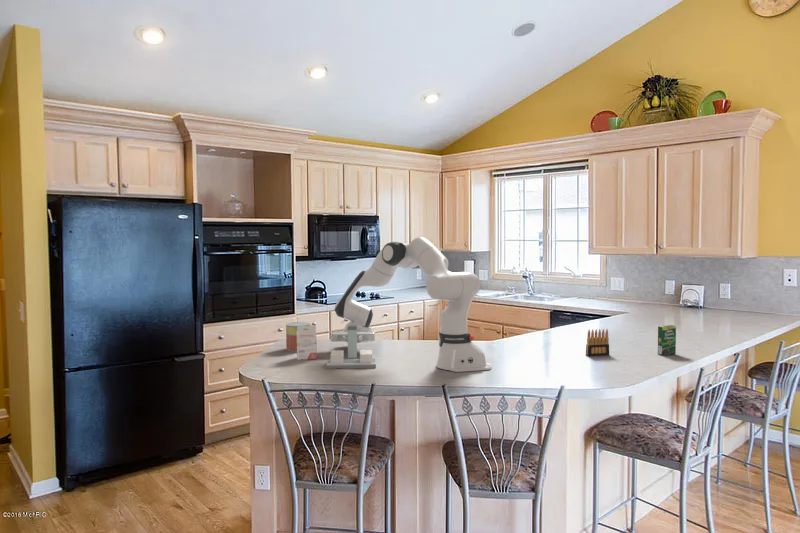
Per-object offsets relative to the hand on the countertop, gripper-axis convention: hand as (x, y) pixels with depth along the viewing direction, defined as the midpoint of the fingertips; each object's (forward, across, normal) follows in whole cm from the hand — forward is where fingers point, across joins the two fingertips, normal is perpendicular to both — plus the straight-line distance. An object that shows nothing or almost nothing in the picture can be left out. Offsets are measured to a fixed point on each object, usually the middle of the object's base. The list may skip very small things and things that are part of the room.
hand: (352, 339), depth 252 cm
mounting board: (+14, 0, +8) cm, 16 cm away
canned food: (-20, -26, +8) cm, 34 cm away
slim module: (-1, 0, +8) cm, 8 cm away
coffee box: (+3, +142, +8) cm, 142 cm away
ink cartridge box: (0, -20, +8) cm, 22 cm away
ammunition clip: (+3, +110, +8) cm, 110 cm away
